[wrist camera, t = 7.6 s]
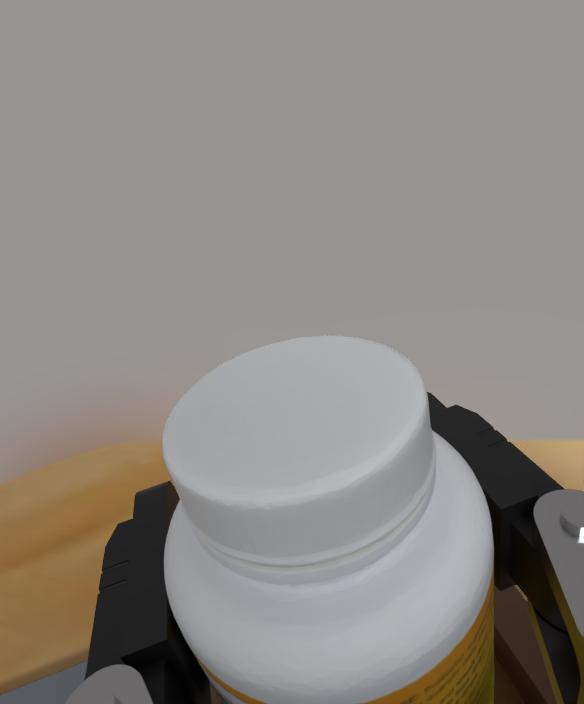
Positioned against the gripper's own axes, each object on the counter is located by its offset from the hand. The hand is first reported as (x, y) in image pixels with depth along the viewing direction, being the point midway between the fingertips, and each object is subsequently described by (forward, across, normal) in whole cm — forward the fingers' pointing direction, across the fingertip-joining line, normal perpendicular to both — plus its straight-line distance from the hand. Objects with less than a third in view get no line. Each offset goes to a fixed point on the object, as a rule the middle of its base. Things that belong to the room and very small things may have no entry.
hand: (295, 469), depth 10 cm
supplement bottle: (-3, 0, +7) cm, 7 cm away
